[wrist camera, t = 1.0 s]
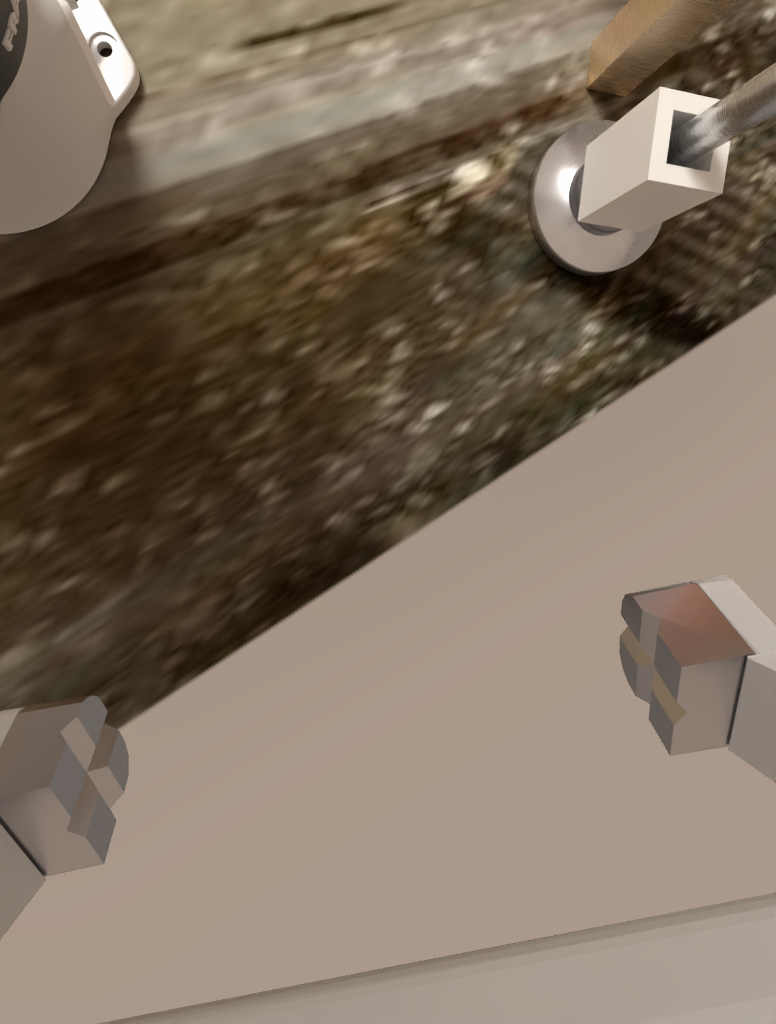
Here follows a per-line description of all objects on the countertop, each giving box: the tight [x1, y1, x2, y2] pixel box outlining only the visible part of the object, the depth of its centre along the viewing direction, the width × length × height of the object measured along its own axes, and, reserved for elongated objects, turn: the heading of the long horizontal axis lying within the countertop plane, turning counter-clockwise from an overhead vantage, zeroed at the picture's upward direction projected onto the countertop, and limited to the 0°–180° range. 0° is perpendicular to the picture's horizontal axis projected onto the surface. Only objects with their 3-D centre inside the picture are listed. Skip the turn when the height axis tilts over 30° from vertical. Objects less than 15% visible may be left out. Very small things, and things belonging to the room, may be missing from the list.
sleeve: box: [578, 87, 730, 232], centre depth 39 cm, size 5×5×8 cm
